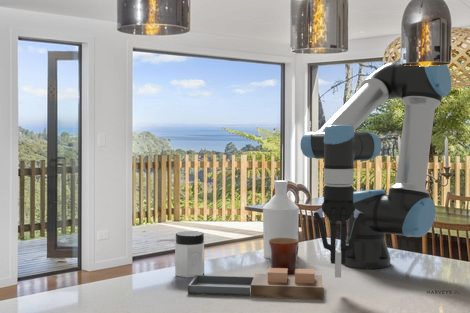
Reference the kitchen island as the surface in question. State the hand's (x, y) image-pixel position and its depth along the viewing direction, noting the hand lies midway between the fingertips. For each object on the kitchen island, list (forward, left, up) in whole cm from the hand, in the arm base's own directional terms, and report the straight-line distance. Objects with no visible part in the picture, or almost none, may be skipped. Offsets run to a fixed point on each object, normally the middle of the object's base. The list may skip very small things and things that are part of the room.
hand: (337, 276), depth 154 cm
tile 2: (+8, 0, -2) cm, 9 cm away
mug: (+14, -18, -5) cm, 23 cm away
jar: (+42, -15, -5) cm, 45 cm away
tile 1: (+15, 0, -2) cm, 16 cm away
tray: (+30, 0, -5) cm, 31 cm away
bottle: (+17, -43, -5) cm, 46 cm away
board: (+13, 0, -5) cm, 14 cm away
